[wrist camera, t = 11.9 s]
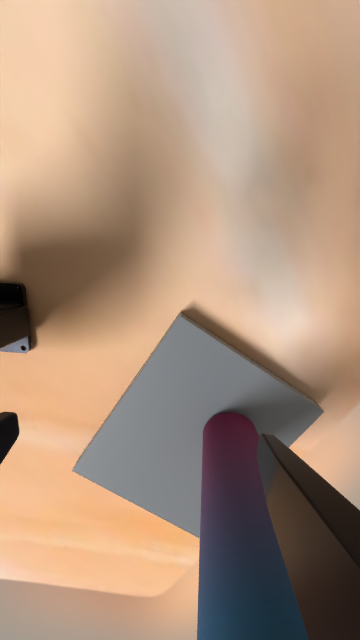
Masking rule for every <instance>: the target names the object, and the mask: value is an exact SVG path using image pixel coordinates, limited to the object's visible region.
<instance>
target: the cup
mask: <svg viewBox="0 0 360 640" xmlns="http://www.w3.org/2000/svg"><path fill="white" fill-rule="evenodd" d="M258 442H259V435H258V433H257V431H256V428H255V426H254V424H253V423H252V421H251V420H250V419H249V418H247V417H246V416H244V415H241V414H239V413H234V412H226V413H221V414H218V415H216V416H214V417H212V418H211V419H209V421H208V422H207V423H206V424H205V426H204V429H203V445H202V482H201V518H200V554H199V592H198V593H199V594H198V629H197V640H309V639H308V636H307V633H306V630H305V626H304V623H303V620H302V617H301V613H300V610H299V607H298V604H297V601H296V597H295V594H294V591H293V588H292V585H291V581H290V578H289V575H288V572H287V568H286V565H285V562H284V559H283V556H282V552H281V549H280V546H279V543H278V539H277V536H276V533H275V530H274V527H273V523H272V520H271V517H270V514H269V510H268V507H267V503H266V498H265V494H264V489H263V484H262V479H261V475H260V470H259V465H258V460H257V448H258Z"/></svg>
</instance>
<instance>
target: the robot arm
mask: <svg viewBox="0 0 360 640" xmlns="http://www.w3.org/2000/svg"><path fill="white" fill-rule="evenodd" d="M17 287H19V291H18V290H17ZM24 346H25V347H26V349H25V348H24ZM30 350H31V337H30V323H29V314H28V308H27V299H26V290H25V286H24V285H23V284H21V283H14V282H0V351H3V352H16V353H27V352H28V351H30ZM18 435H19V424H18V417H17V414H16V413H14V412H2V413H0V464H1V463H2V461H3V460H4V458H5V457H6V455H7V453H8V452H9V450H10V449H11V447H12V446H13V444H14V443H15V441H16V440H17V438H18ZM257 460H258V465H259V470H260V475H261V479H262V484H263V489H264V494H265V498H266V503H267V507H268V510H269V514H270V517H271V520H272V523H273V527H274V530H275V533H276V536H277V539H278V543H279V546H280V549H281V552H282V556H283V559H284V562H285V565H286V568H287V572H288V575H289V578H290V581H291V585H292V588H293V591H294V594H295V597H296V601H297V604H298V607H299V610H300V613H301V617H302V620H303V623H304V626H305V630H306V633H307V636H308V639H309V640H360V510H359V509H357V508H356V507H355V506H354V505H353V504H351V502H350V501H348V500H347V499H346V498H345V497H344V496H343V495H342V494H340V493H339V492H338V491H337V490H336V489H335V488H334V487H332V486H331V485H330V484H329V483H328V482H327V481H326V480H325V479H323V478H322V477H321V476H320V475H319V474H318V473H317V472H315V471H314V470H313V469H312V468H311V467H310V466H309V465H307V464H306V463H305V462H304V461H303V460H302V459H301V458H300V457H298V456H297V455H296V454H295V453H294V452H293V451H292V450H290V449H289V448H288V447H287V446H286V445H285V444H284V443H283V442H281V441H280V440H279V439H278V438H277V437H276V436H275V435H273V434H270V433H261V434H260V437H259V442H258V448H257Z"/></svg>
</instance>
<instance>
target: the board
mask: <svg viewBox="0 0 360 640" xmlns="http://www.w3.org/2000/svg"><path fill="white" fill-rule="evenodd" d="M226 412H234V413H239V414H241V415H244V416H246V417H247V418H249V419H250V420H251V421H252V423H253V424H254V426H255V428H256V431H257V433H258V435H259V437H260V434H261V433H270V434H273V435H275V436H276V437H277V438H278V439H279V440H280V441H281V442H283V443H284V444H285V445H286V446H287V447H288V448H289V447H290V446H291V445H292V444H293V443H294V442H295V440H296V439H297V438H298V437H299V436H300V435H301V434H302V433H303V432H304V431H305V430H306V429H307V428H308V427H309V426H310V425H311V424H312V423H313V422H314V421H315V420H316V419H317V418H318V417H319V416H320V415H321V414H322V413H323V412H324V411H323V410H322V408H321V407H320V406H319V405H318V404H317V403H316V402H315V401H314V400H312V399H311V398H309V397H308V396H306V395H305V394H303V393H302V392H300V391H299V390H297V389H296V388H294V387H293V386H291V385H290V384H288V383H286V382H285V381H283V380H282V379H280V378H279V377H277V376H276V375H274V374H273V373H271V372H270V371H268V370H267V369H265V368H264V367H262V366H261V365H259V364H258V363H256V362H255V361H253V360H252V359H250V358H249V357H247V356H246V355H244V354H243V353H241V352H240V351H238V350H237V349H235V348H234V347H232V346H231V345H229V344H228V343H226V342H225V341H223V340H222V339H220V338H219V337H217V336H216V335H214V334H213V333H211V332H210V331H208V330H207V329H205V328H204V327H202V326H201V325H199V324H198V323H196V322H195V321H193V320H192V319H190V318H189V317H187V316H186V315H184V314H183V313H181V312H180V313H179V314H178V316H177V317H176V319H175V320H174V322H173V323H172V325H171V326H170V327H169V329H168V330H167V332H166V333H165V335H164V336H163V338H162V339H161V340H160V342H159V343H158V345H157V346H156V348H155V349H154V351H153V352H152V353H151V355H150V356H149V358H148V359H147V361H146V362H145V364H144V365H143V366H142V368H141V369H140V371H139V372H138V374H137V375H136V377H135V378H134V379H133V381H132V382H131V384H130V385H129V387H128V388H127V390H126V391H125V392H124V394H123V395H122V397H121V398H120V400H119V401H118V403H117V404H116V405H115V407H114V408H113V410H112V411H111V413H110V414H109V416H108V417H107V418H106V420H105V421H104V423H103V424H102V426H101V427H100V429H99V430H98V431H97V433H96V434H95V436H94V437H93V439H92V440H91V442H90V443H89V444H88V446H87V447H86V449H85V450H84V452H83V453H82V455H81V456H80V457H79V459H78V461H77V463H76V464H75V466H74V468H73V470H72V471H73V472H75V473H77V474H79V475H81V476H83V477H85V478H87V479H89V480H90V481H92V482H94V483H96V484H98V485H100V486H102V487H104V488H106V489H107V490H109V491H111V492H113V493H115V494H117V495H119V496H121V497H123V498H124V499H126V500H128V501H130V502H132V503H134V504H136V505H138V506H140V507H141V508H143V509H145V510H147V511H149V512H151V513H153V514H155V515H157V516H158V517H160V518H162V519H164V520H166V521H168V522H170V523H172V524H174V525H175V526H177V527H179V528H181V529H183V530H185V531H187V532H189V533H191V534H192V535H194V536H196V537H198V538H199V537H200V518H201V482H202V445H203V429H204V426H205V424H206V423H207V422H208V421H209V419H211V418H212V417H214V416H216V415H218V414H221V413H226Z"/></svg>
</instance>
